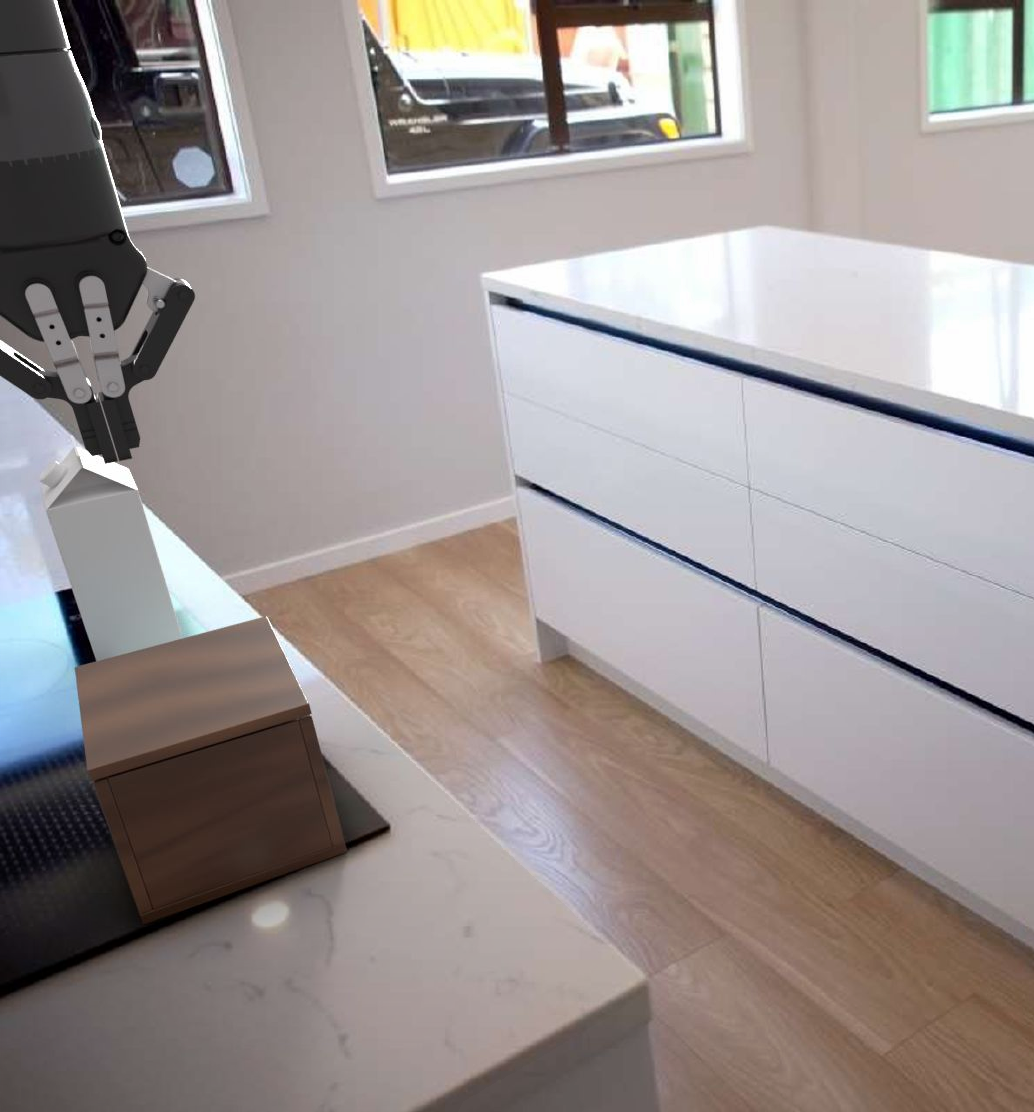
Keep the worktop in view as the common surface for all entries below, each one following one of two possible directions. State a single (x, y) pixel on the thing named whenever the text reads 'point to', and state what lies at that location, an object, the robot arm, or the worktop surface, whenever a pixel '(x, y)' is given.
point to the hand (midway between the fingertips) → (117, 458)
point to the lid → (185, 696)
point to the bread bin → (221, 817)
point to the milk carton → (108, 554)
